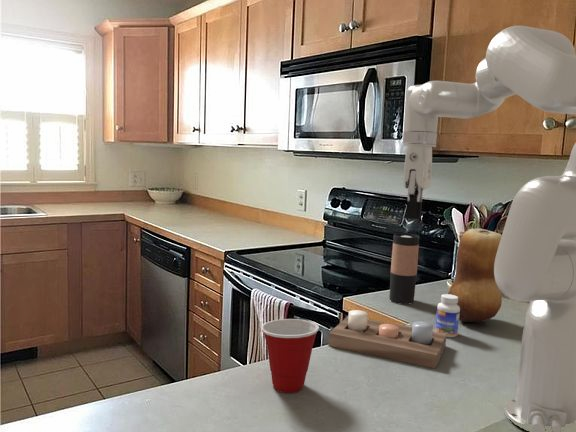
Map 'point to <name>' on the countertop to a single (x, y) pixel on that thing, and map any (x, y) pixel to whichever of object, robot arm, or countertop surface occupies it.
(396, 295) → the travel mug
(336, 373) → the countertop surface
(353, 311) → the cream button
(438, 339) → the walnut panel
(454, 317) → the pill bottle
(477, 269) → the butternut squash
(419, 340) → the slate button
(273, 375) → the plastic cup
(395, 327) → the terracotta button
